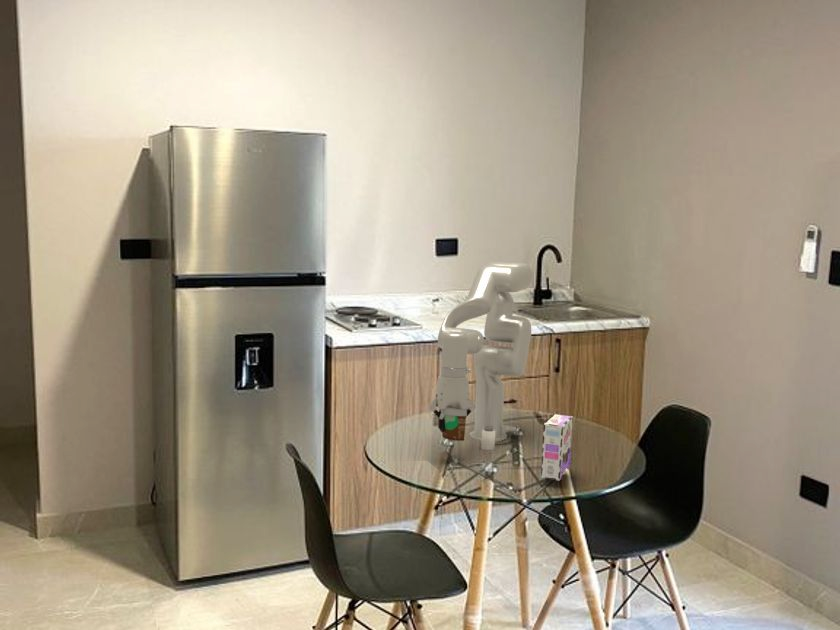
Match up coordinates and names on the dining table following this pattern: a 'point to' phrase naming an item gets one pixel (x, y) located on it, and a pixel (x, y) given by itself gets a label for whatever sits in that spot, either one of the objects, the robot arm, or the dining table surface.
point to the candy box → (556, 446)
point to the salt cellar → (488, 438)
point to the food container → (454, 424)
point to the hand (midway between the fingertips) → (451, 430)
